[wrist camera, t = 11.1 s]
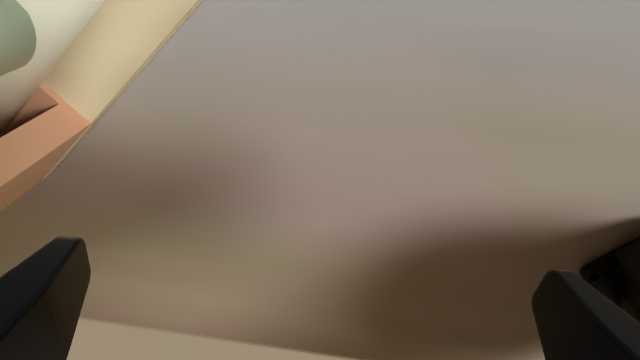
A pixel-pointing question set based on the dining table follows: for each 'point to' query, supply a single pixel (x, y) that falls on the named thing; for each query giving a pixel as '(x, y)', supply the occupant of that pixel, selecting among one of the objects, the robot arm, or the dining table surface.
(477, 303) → the dining table surface
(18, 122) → the socket
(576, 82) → the dining table surface
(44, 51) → the beige cradle bracket
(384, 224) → the dining table surface
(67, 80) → the base rail
